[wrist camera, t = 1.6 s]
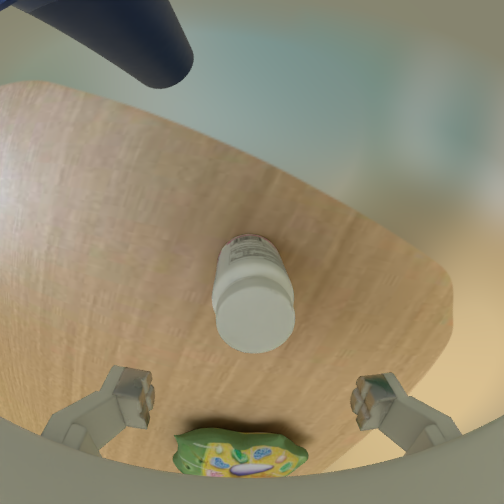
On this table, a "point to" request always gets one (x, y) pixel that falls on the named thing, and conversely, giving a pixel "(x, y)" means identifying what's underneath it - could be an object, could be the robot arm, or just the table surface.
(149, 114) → the table surface
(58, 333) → the table surface
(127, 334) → the table surface
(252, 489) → the robot arm
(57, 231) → the table surface
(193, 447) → the educational model
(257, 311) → the pill bottle
